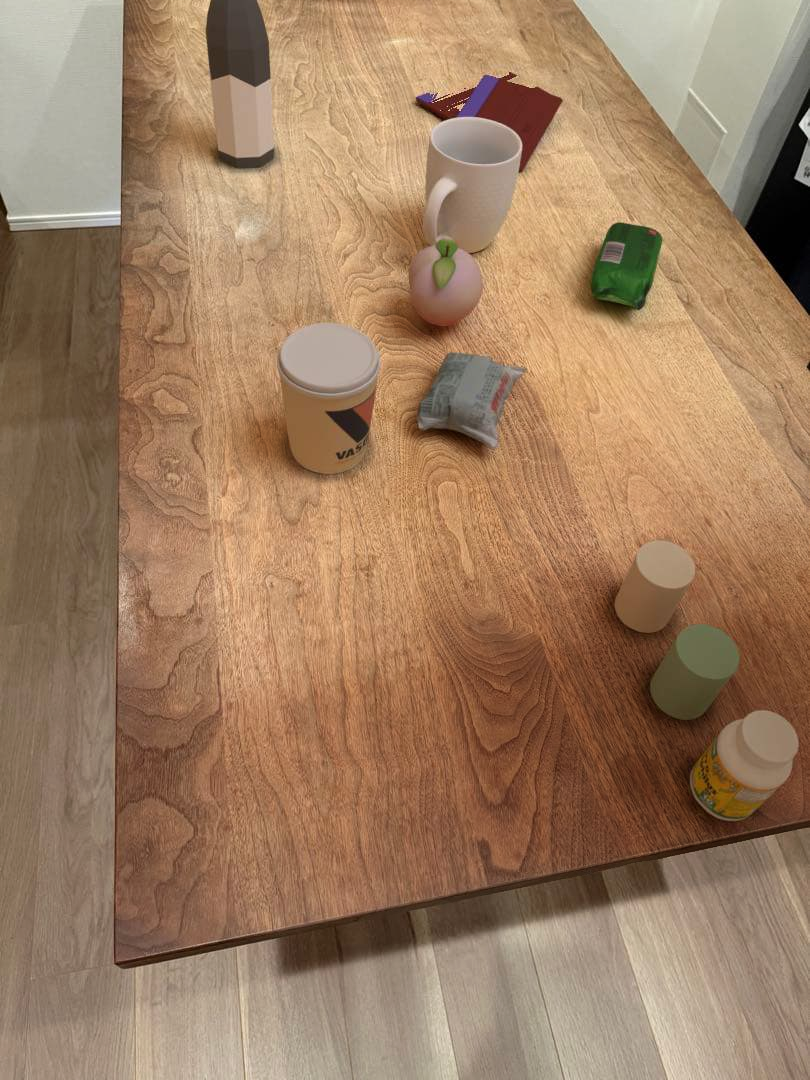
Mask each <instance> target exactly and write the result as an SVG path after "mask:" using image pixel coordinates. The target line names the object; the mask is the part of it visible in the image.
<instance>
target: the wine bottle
mask: <svg viewBox="0 0 810 1080" xmlns="http://www.w3.org/2000/svg"><path fill="white" fill-rule="evenodd" d="M205 41H206V50H207V59H208V71H209V77H210V87H211V88H210V89H211V98H212V108H213V119H214V128H215V138H216V146H217V152H218V157H219V161H220V162H222V163H225V164H227V165H229V166H231V167H234V168H236V169H253V168H261V167H263V166H264V165H266V164H267V163H269V162H270V161H272V160H273V159H275V143H274V122H273V121H274V119H273V117H274V116H273V103H272V102H273V100H272V97H273V96H272V79H271V60H270V59H271V56H270V40H269V36H268V31H267V28H266V24H265V21H264V16H263V12H262V10H261V8H260V5H259V2H258V0H209V5H208V9H207V14H206V24H205Z"/></svg>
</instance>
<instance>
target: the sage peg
mask: <svg viewBox="0 0 810 1080" xmlns="http://www.w3.org/2000/svg"><path fill="white" fill-rule="evenodd" d="M740 658H741V657H740V651H739V648H738V646H737V645H736V642H735V641H734V640H733V639H732V637H730V636H729V635H728V634H727V633H726V632H725V631H724V630H722V629H720V628H718V627H715V626H713V625H710V624H705V623H695V624H691V625H688V626H686V627H684V628H682V630H681V631H680V632H679V633H678V634H677V636H676V638H675V640H673V642H672V644H671V646H670V648H669V649H668V650H667V653H666V654H665V656H664V657H663V659H662V661H661V662H660V664H659V666H658V667H657V669H656V671H655V672H654V673H653V676H652V677H651V679H650V683H649V690H650V695H651V698H652V700H653V702H654V704H655V705H656V706H657V707H658V709H660V710H661V711H662V712H663V713H664V714H665V715H667V716H669V717H671V718H674V719H676V720H681V721H691V720H695V719H697V718H700V717H701V716H702V715H704V713H706V711H707V710H708V708H709V707H710V706H711V704H712V703H713V702H714V701H715V699H716V698H717V697H718V696H719V694H720V693H721V692H722V690H723V689H724V687H725V686H726V685H727V684H728V682H729V681H730V680H731V678H732V677H733V676H734V674H735V673H736V671H737V670H738V669H739V666H740V661H741V659H740Z"/></svg>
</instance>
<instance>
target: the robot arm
mask: <svg viewBox="0 0 810 1080" xmlns="http://www.w3.org/2000/svg"><path fill="white" fill-rule="evenodd" d="M806 369H807V370H808V372H810V360H809V361H808V363H807V365H806Z"/></svg>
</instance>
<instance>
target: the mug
mask: <svg viewBox="0 0 810 1080" xmlns="http://www.w3.org/2000/svg"><path fill="white" fill-rule="evenodd" d="M428 141H429V142H428V150H427V154H426V155H427V156H426V166H425V167H426V169H425V186H424V189H425V190H424V191H425V193H424V194H425V195H424V196H425V200H426V201H425V207H424V211H423V219H422V231H423V237H424V240H425V241H426V243H427V244H428V245H430V246H432V245H436V243H437V242H438V241H439V240H441V239H443V238H446V239H451V240H453V241H455V242H456V244H457V245H458V248H459V249H462V250H464V251H466V252H467V253H469V254H473V253H474V254H475V253H477V252H480V251H482V250H484V249H485V248H487V247H488V246H489V244H491V243H492V242H493V240H494V239H495V238H496V237H497V235H498V233H500V231H501V229H502V227H503V226H504V224H505V221H506V218H507V217H508V214H509V211H510V210H511V209H510V208H511V206H512V203H513V199H514V195H515V191H516V185H517V183H518V182H517V181H518V175H519V172H520V171H519V166H520V159H521V153H522V142H521V139H520V137H519V136H518V135H517V134H516V133H515V132H514V131H513V130H512V129H510V128H509V127H507V126H505V125H503V124H501V123H498V122H496V121H492V120H488V119H484V118H478V117H458V118H452V119H449V120H443V121H441V122H439V123H437V124H436V125H435V126H434V127H432V129H431V132H430V133H429V140H428Z"/></svg>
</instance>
